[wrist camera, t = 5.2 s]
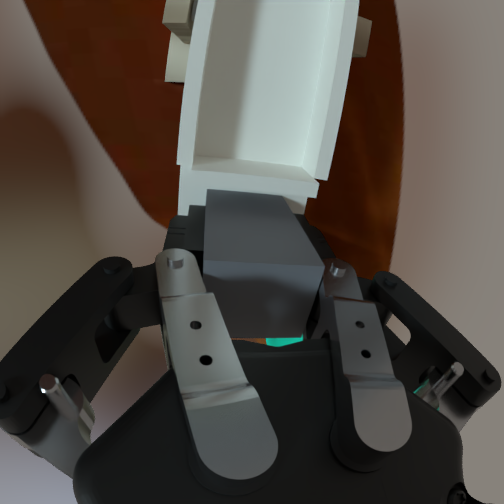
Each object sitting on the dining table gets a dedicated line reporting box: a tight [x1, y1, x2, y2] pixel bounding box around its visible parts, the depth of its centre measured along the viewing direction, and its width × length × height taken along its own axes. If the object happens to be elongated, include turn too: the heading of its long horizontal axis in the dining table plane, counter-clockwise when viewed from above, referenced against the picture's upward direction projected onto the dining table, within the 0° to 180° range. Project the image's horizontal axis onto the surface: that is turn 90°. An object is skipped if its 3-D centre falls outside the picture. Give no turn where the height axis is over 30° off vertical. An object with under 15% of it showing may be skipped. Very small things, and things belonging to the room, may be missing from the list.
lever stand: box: [162, 0, 372, 82], centre depth 13 cm, size 8×11×10 cm
